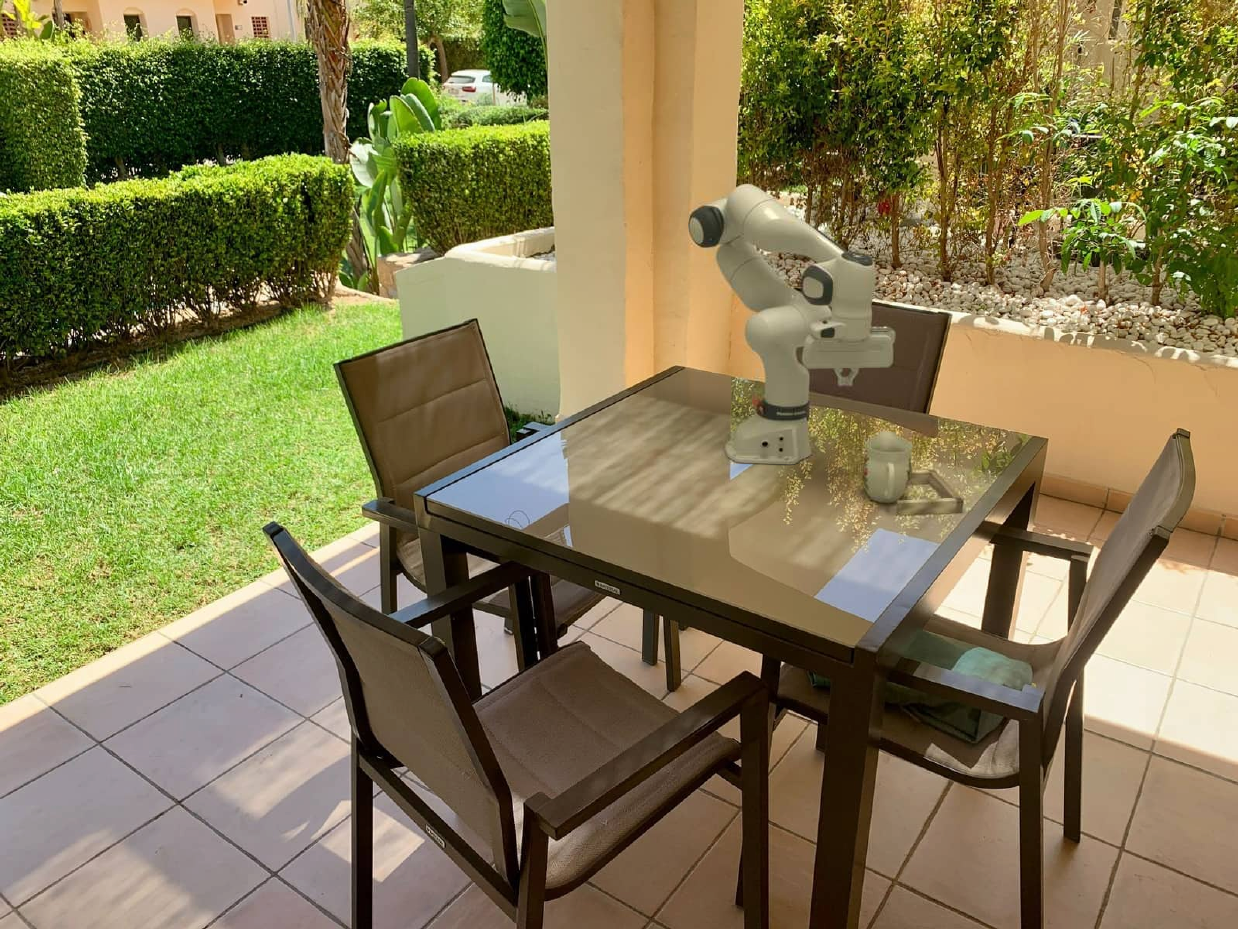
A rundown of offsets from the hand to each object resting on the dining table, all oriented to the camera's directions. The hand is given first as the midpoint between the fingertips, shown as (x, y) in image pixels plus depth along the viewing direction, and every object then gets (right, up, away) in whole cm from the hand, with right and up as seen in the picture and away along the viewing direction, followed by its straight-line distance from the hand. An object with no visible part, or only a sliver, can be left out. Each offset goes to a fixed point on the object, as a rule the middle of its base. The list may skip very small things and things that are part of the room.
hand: (844, 385), depth 213 cm
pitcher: (+10, -26, +2) cm, 28 cm away
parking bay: (+17, -26, +2) cm, 31 cm away
